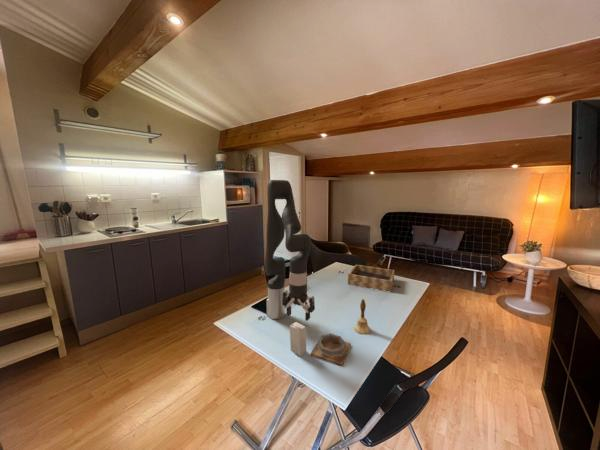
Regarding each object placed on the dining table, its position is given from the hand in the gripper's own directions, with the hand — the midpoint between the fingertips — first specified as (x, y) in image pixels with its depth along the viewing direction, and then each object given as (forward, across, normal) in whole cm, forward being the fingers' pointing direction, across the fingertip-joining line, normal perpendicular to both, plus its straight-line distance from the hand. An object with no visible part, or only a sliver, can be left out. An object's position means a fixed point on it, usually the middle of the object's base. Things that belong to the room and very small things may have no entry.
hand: (298, 317), depth 101 cm
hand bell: (+16, +22, +29) cm, 40 cm away
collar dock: (+16, +13, +7) cm, 22 cm away
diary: (+16, +16, +93) cm, 96 cm away
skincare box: (+16, 0, 0) cm, 16 cm away
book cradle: (+16, +16, +93) cm, 96 cm away
